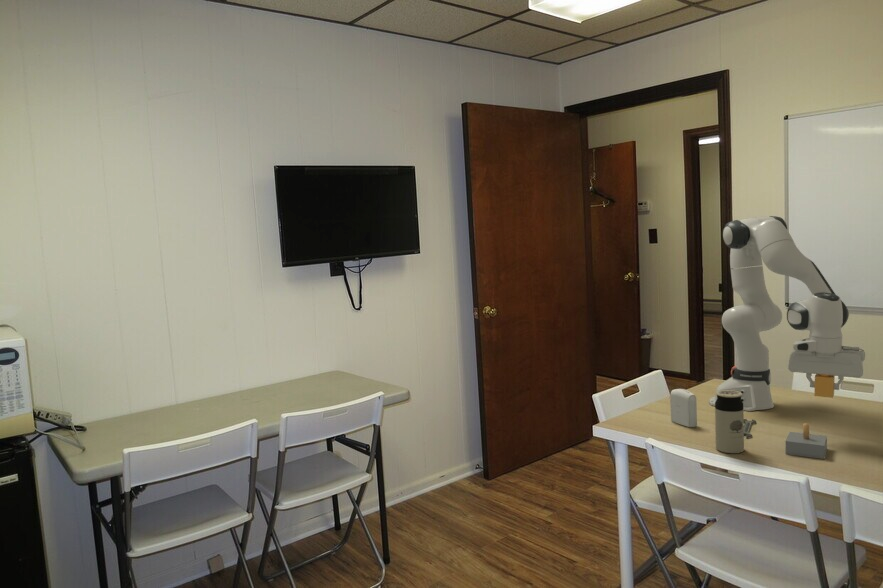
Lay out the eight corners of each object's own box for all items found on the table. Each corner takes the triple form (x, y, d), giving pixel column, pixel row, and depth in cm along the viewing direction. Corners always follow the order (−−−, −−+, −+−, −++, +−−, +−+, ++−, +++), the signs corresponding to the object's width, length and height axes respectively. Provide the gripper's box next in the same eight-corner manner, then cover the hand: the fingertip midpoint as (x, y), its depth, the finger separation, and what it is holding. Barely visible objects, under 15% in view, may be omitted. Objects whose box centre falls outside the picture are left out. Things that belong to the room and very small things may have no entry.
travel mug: (712, 445, 202) (711, 390, 201) (738, 445, 201) (737, 389, 200) (720, 454, 194) (719, 396, 193) (747, 453, 193) (747, 395, 192)
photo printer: (669, 421, 230) (668, 387, 229) (678, 419, 231) (677, 385, 230) (689, 428, 220) (688, 393, 219) (699, 426, 222) (698, 391, 221)
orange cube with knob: (814, 395, 200) (814, 372, 200) (815, 392, 205) (816, 369, 204) (833, 397, 198) (833, 374, 197) (834, 393, 202) (834, 370, 201)
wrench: (752, 440, 206) (757, 423, 223) (751, 435, 206) (756, 418, 223) (735, 439, 209) (742, 423, 226) (735, 434, 209) (741, 418, 226)
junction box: (785, 453, 192) (785, 426, 191) (789, 444, 200) (789, 417, 199) (824, 459, 186) (824, 430, 185) (826, 448, 194) (826, 421, 193)
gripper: (865, 345, 196) (864, 389, 198) (790, 341, 208) (789, 382, 209) (865, 349, 191) (863, 394, 192) (787, 344, 203) (787, 387, 204)
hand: (824, 388), depth 201 cm, fingers closed on orange cube with knob, 5 cm apart
